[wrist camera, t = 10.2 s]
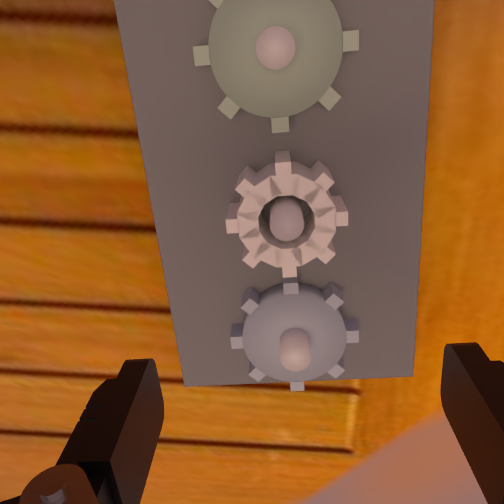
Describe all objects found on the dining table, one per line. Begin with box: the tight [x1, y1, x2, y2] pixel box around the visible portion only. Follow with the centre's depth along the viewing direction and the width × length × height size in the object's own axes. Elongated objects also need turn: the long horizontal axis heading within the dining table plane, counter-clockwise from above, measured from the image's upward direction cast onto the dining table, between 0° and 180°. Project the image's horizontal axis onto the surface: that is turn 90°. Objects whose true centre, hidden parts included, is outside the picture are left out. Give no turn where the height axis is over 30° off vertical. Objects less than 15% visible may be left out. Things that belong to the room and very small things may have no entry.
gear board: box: [114, 0, 435, 391], centre depth 26 cm, size 26×16×5 cm, turn 5°
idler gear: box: [225, 150, 348, 278], centre depth 26 cm, size 6×6×3 cm
